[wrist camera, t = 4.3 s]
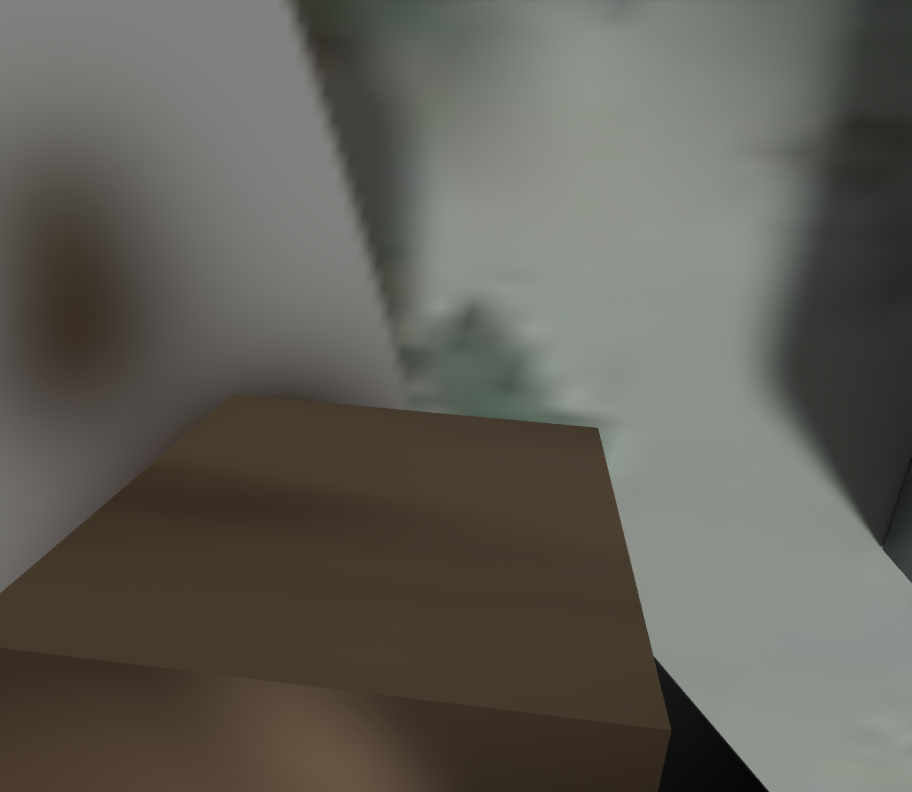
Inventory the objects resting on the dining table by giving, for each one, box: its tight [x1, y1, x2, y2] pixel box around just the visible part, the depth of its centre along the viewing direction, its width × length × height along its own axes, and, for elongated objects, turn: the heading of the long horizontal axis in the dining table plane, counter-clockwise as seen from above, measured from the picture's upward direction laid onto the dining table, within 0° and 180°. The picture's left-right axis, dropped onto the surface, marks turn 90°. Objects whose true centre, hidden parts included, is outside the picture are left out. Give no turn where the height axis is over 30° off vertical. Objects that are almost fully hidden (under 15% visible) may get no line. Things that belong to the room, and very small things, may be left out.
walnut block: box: [0, 395, 671, 792], centre depth 8 cm, size 5×5×5 cm
